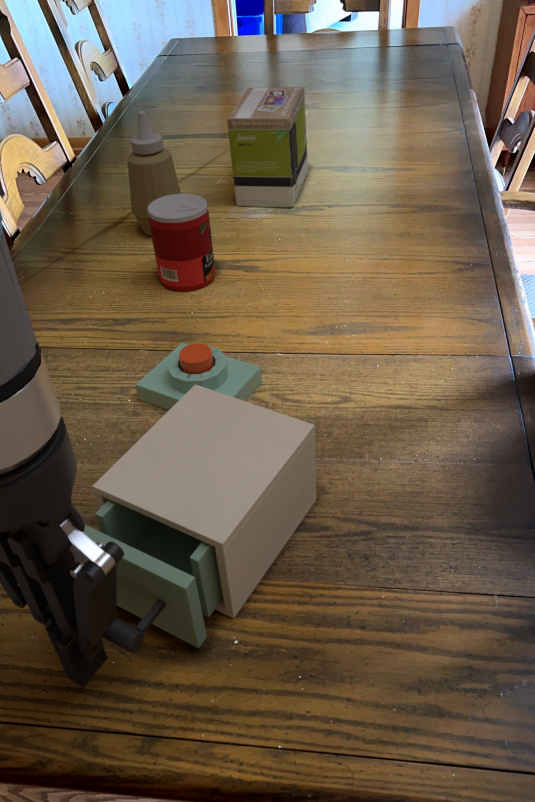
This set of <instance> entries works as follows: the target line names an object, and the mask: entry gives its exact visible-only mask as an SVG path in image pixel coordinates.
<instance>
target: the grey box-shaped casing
mask: <svg viewBox="0 0 535 802" xmlns="http://www.w3.org/2000/svg"><path fill="white" fill-rule="evenodd" d="M316 464H317V463H316V425H315V424H314V423H310V422H308V421H305V420H301V419H299V418H296V417H293V416H289V415H287V414H283V413H281V412H278V411H275V410H272V409H269V408H267V407H263V406H260V405H257V404H254V403H252V402H249V401H246V400H245V401H243V400H240V399H237V398H234V397H231V396H228V395H225V394H222V393H219V392H216V391H213V390H210V389H207V388H204V387H201V386H199V385H194V386H193V387H192V388H191V389H190V390H189V391H188V392H187V393H186V394H185V395H184V396H183V397H182V398H181V399H180V400H179V401H178V402H177V403H176V404H175V405H174V406H173V407H172V408H171V409H170V410H167V412H166V413H165V414H164V415H163V416H161V418H159V420H157V421H156V422H155V423H154V424H153V425H152V426H151V428H149V429H148V430H147V431H146V432H145V433H144V434H143V435H142V436H141V437H140V438H139V439H138V440H137V441H136V442H135V443H134V444H133V445H132V446H131V447H130V448H129V449H128V450H127V451H126V452H125V453H123V455H122V456H121V457H120V458H119V459H118V460H117V461H116V462H114V464H113V465H112V466H111V467H110V468H109V469H108V470H107V471H106V472H105V473H103V474H102V475H101V477H100V478H99V479H98V480H97V481H95V483H94V484H93V485H92V490H93V494H94V497H95V501H96V503H97V506H98V510H99V509H100V508H101V507H102V506H103V505H104V504H105V503H106V502H107V501H108V500H109V499H110V500H112V501H114V502H117V503H119V504H121V505H123V506H125V507H128V508H130V509H132V510H134V511H137V512H139V513H141V514H143V515H146V516H148V517H150V518H152V519H154V520H157V521H159V522H161V523H163V524H166V525H168V526H170V527H172V528H174V529H177V530H179V531H181V532H183V533H186V534H188V535H190V536H192V537H195V538H197V539H199V540H201V541H203V542H206V543H208V544H210V545H212V546H215V551H216V557H217V563H218V569H219V575H220V581H221V587H222V593H223V599H222V600H221V601H220V603H219V604H218V606H217V607H216V608H215V610H216V611H218V612H220V613H222V614H223V615H225V616H228V617H230V618H232V619H235V618H236V616H237V615H238V613H239V612H240V611H241V609H242V608H243V606H244V605H245V604H246V602H247V601H248V600H249V598H250V596H251V595H252V593H253V592H254V591H255V589H256V588H257V586H258V585H259V583H260V582H261V581H262V579H263V578H264V576H265V574H266V573H267V571H269V568H270V567H271V566H272V564H273V563H274V562H275V560H276V558H278V556H279V554H280V553H281V552H282V550H283V548H284V547H285V546H286V544H287V543H288V541H290V539H291V537H292V535H293V534H294V533H295V531H296V530H297V528H298V527H299V525H300V524H301V523H302V521H303V520H304V518H305V517H306V515H307V514H308V512H309V511H310V510H311V508H312V506H313V505H314V504H315V503H316V501H317V470H316V469H317V467H316ZM215 610H214V611H215Z"/></svg>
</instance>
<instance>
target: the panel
mask: <svg viewBox="0 0 535 802" xmlns="http://www.w3.org/2000/svg"><path fill="white" fill-rule="evenodd" d="M188 345H190V343H186V342H181V343H180V344H179V345H178V346H176V347H175V348H174V349H173V350H171V352H170V353H169V354H167V355H166V356H165V357H164V358H163V359H162V360H161V361H160V362H159V363H158V364H156V365H155V366H154V367H153V368H152V369H151V370H149V372H147V373H146V374H145V375H144V376H143V377H142V378H141V379H140V380H139V381H138V382H136V383H135V389H136V393H137V397H138V400H140V401H143V402H144V403H148V404H151V405H153V406H156V407H159V408H161V409H164V410H167V411H169V410H170V409H171V408H172V407H173V406H174V405H175V404H176V403H177V402H178V401H179V400H180V399H181V398H182V397H183V396H184V395H185V394H186V393H187V392H188V391H189V390H190V389H191V388H192V387H193V386H194V385H199V386H201V387H204V388H207V389H210V390H213V391H216V392H219V393H222V394H225V395H228V396H231V397H234V398H237V399H240V400H243V401H246V400H247V399H248V398H249V397H250V396H251V395H252V394H253V393H254V392H255V390H256V389H257V388H258V387H259V386H260V385H261V384H262V383H263V375H262V367H261V366H260V365H256V364H253V363H250V362H247V361H243V360H240V359H237V358H234V357H230V356H228V355H225V354H224V352H223V351H222V350H221V349H220V348H217V347H214V346H211V345H208V346H209V347H210V348H211V350H212V357H213V367H212V369H211V370H210V371H207V372H204V373H202V374H187V373H184V372H183V371H182V369H181V365H180V359H179V352H180V351H181V349H182V348H184V347H185V346H188Z"/></svg>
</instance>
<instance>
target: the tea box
mask: <svg viewBox="0 0 535 802" xmlns="http://www.w3.org/2000/svg"><path fill="white" fill-rule="evenodd" d="M305 95H306V94H305V87H304V86H289V87H284V86H283V87H251V86H250V87H248V88H247V89H246V91H245V92H244V93H243V94H242V97H241V98H240V99H239V101H238V103H236V105H235V106H234V108H233V110H232V111H231V113H230V115H229V116H228V117H227V119H226V120H227V121H226V122H227V132H228V141H229V150H230V151H229V152H230V159H231V170H232V177H233V187H234V196H235V197H234V198H235V204H236V206H237V207H248V208H249V207H252V208H253V207H255V208H256V207H259V208H293V207H294V206H295V204H296V201H297V199H298V196H299V194H300V192H301V189H302V187H303V184H304V182H305V179H306V177H307V174H308V171H309V160H308V140H307V117H306V98H305Z"/></svg>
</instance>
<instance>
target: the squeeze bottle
mask: <svg viewBox="0 0 535 802" xmlns="http://www.w3.org/2000/svg"><path fill="white" fill-rule="evenodd" d="M136 125H137V127H136V135H133V136H132V137H131V138H130V146H131V152H130V153H129V155H128V156H127V158H126V161H127V171H128V172H127V173H128V184H129V185H128V186H129V193H130V194H129V196H130V208H131V212H132V214H133V216H134V217H135V219H136V221H137V223H138V225H139V227H140V228H141V230H142V232H143V233H144V234H146V235H148V236H152V235H151V230H150V224H149V218H148V209H147V208H148V206H149V204H150V203H151V202H153V201H154V200H156V199H158V198H161V197H164V196H167V195H172V194H182V192H181V188H180V184H179V181H178V176H177V172H176V168H175V165H174V160H173V156H172V153H171V151H170V150H169V149H168V148H166V147H165V145H164V139H163V136H162V135H161V134H160V133H157V132H154V129H153V126H152V123H151V121H150V119H149V115H148V113H147V111H146V110H140V111H138V112H137V124H136Z"/></svg>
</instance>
